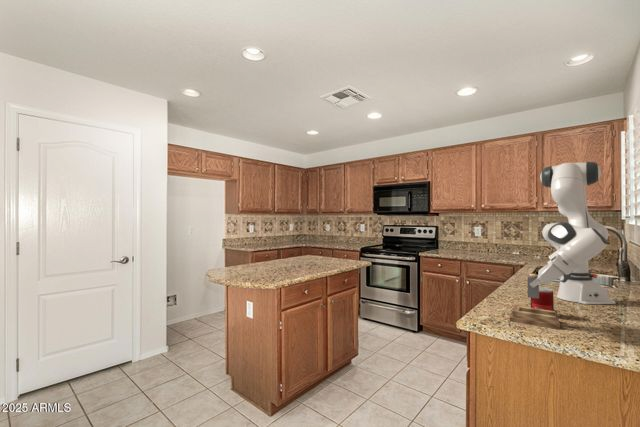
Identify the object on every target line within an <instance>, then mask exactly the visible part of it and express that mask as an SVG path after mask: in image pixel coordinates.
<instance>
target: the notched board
mask: <svg viewBox="0 0 640 427" xmlns="http://www.w3.org/2000/svg"><path fill="white" fill-rule="evenodd" d="M509 322H514V323H520V324H525V325H533V326H537V327H541V328H542V327H544V328H549V329H554V330H560V329H561V326H560V318H559V316H558V317H557V316H556V311H549V310H542V309H535V308H531V307H526V306H520V305H513V308H512V310H511V312H510V314H509Z"/></svg>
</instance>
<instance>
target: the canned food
mask: <svg viewBox="0 0 640 427" xmlns="http://www.w3.org/2000/svg"><path fill="white" fill-rule="evenodd" d="M554 298H555V297H554V289H553V288H548V287H545V286H543V287H542V286H539V298H531V297H530V308H535V309H542V310H549V311H554V310H555V309H554V304H555V303H554V301H555V300H554Z"/></svg>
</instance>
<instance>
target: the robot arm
mask: <svg viewBox="0 0 640 427" xmlns="http://www.w3.org/2000/svg"><path fill="white" fill-rule="evenodd" d="M601 176H602V170H601V167H600V166H599V164H598V163H597V162H596V161H585V162H563V163H561V164H556V165H553V166H552V165H550V166H546V167H544V168H543V169H541V172H540V175H539V177H540V178H539V179H540V180H539V181H540V182H541V185H542V186H543V187H545V188H550V194H551V198H552V200H553V201H554V203H556V205H557V210H558V213H559V214H561V215H562V216H563V217H565V218H567V220H568V222H567V221H566V222H564V221H563V222H562V221H561V222H554V223H553V222H552V223H547V224H545V225H544V227H543V228H542V231H541V233H542V237H543V239H544V240H545V241H546V242H548V243H549V244H550V245H551V246H552V247H554V249H555V251H554V252H552V254H550V255H548V259H549V260H548V261H547V264H546V265H544V266H542V267H541V268H540V269H539V270H538V271H537V272H538V274H537V277H538V278H537V279H536V280H534V281H533V282H531V283H530V286H532V287H533V288H534V287H535V286H537V285H539V286H540V284H543V285H545V286H546V285H549V284H551V283H553V282H554V281H557V280H559V286H558V291H557V295H556V298H558V299H560V300H564V301H568V302H574V303H579V304H583V305H616V300H614V299H612V298H610V296H609V292H608V289H606V288H605V287H603V286H602V285H601V284H599V283H598V282H596V281H595V280H593V279H597V278H599V275H598V274H597V273H596V274H595V273H591V272H589V261H591V260H592V259H593V258H594V257H596V256H598V255H599V254H600V253H601V252H602V251H604V249H605V248H606V247H607V245H608V241H607V240H608V238H609V236H610V235H609V230H608V228H607V227H606V226H605V225H604V224H602V223H600V222H598V221H597V220H596V219H594V218H593V217H592V216H591V214H590V212H589V209H588V202H587V190H586V185H587V186H588V187H589V186H591V185H594V184H596V183H597V182H599V180H600V178H601Z"/></svg>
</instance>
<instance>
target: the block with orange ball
mask: <svg viewBox="0 0 640 427" xmlns="http://www.w3.org/2000/svg"><path fill="white" fill-rule="evenodd" d="M537 275H538V274H537V273H529V275H527V298H530V299H531V298H539V287H540V284H539V285H537V286H535V287H534V288H533V287H532V286H530V283H531V282H533V281H534V280H536V279H537V278H538V277H537Z"/></svg>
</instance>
